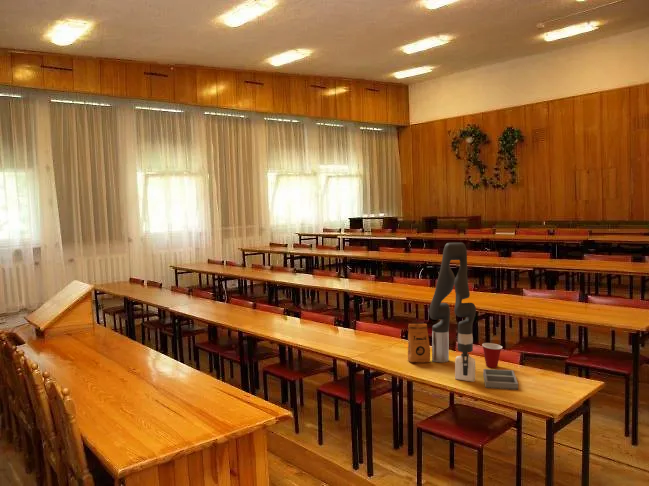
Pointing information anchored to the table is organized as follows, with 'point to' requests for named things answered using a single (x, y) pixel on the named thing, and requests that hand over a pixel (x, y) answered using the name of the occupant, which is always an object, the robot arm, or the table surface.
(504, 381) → the grey divided tray
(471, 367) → the beige rounded slab
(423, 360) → the coffee package
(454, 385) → the table surface
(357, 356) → the table surface
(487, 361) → the plastic cup
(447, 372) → the table surface
